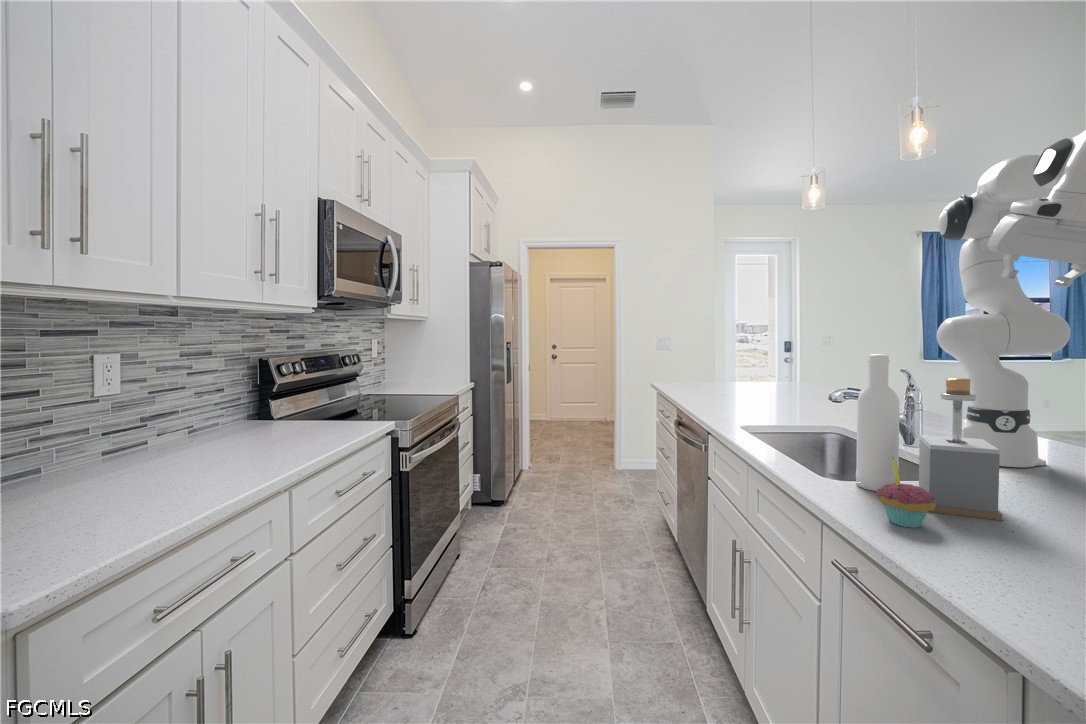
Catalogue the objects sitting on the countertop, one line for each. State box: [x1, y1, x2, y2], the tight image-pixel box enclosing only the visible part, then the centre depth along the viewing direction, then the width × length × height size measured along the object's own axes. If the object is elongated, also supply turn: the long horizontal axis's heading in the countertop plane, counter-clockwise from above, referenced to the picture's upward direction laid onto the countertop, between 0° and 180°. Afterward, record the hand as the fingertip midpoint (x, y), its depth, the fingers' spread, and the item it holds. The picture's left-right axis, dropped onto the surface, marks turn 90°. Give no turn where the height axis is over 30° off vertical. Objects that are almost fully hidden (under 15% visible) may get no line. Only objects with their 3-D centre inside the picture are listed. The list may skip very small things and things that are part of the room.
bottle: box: [855, 353, 901, 492], centre depth 106 cm, size 8×8×30 cm
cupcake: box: [875, 456, 936, 529], centre depth 86 cm, size 9×8×12 cm
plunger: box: [940, 377, 976, 444], centre depth 93 cm, size 8×8×18 cm
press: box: [918, 434, 1004, 521], centre depth 94 cm, size 11×11×13 cm
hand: (1034, 281), depth 95 cm, fingers open, 8 cm apart
